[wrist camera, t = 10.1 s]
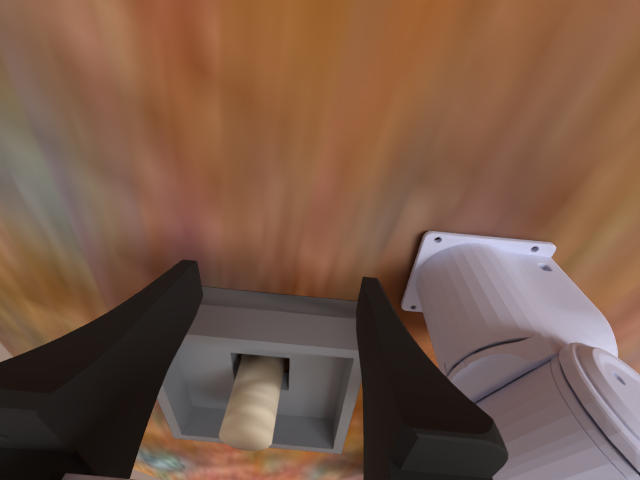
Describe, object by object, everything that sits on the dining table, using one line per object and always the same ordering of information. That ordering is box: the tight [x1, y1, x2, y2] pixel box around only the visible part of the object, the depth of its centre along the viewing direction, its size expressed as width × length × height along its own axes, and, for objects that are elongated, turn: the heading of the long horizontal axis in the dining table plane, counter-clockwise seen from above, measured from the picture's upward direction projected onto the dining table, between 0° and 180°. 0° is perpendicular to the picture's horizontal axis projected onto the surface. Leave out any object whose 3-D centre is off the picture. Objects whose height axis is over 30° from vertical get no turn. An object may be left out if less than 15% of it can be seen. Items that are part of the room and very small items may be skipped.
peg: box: [219, 354, 286, 451], centre depth 29 cm, size 4×4×8 cm
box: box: [157, 287, 362, 454], centre depth 30 cm, size 18×18×5 cm
